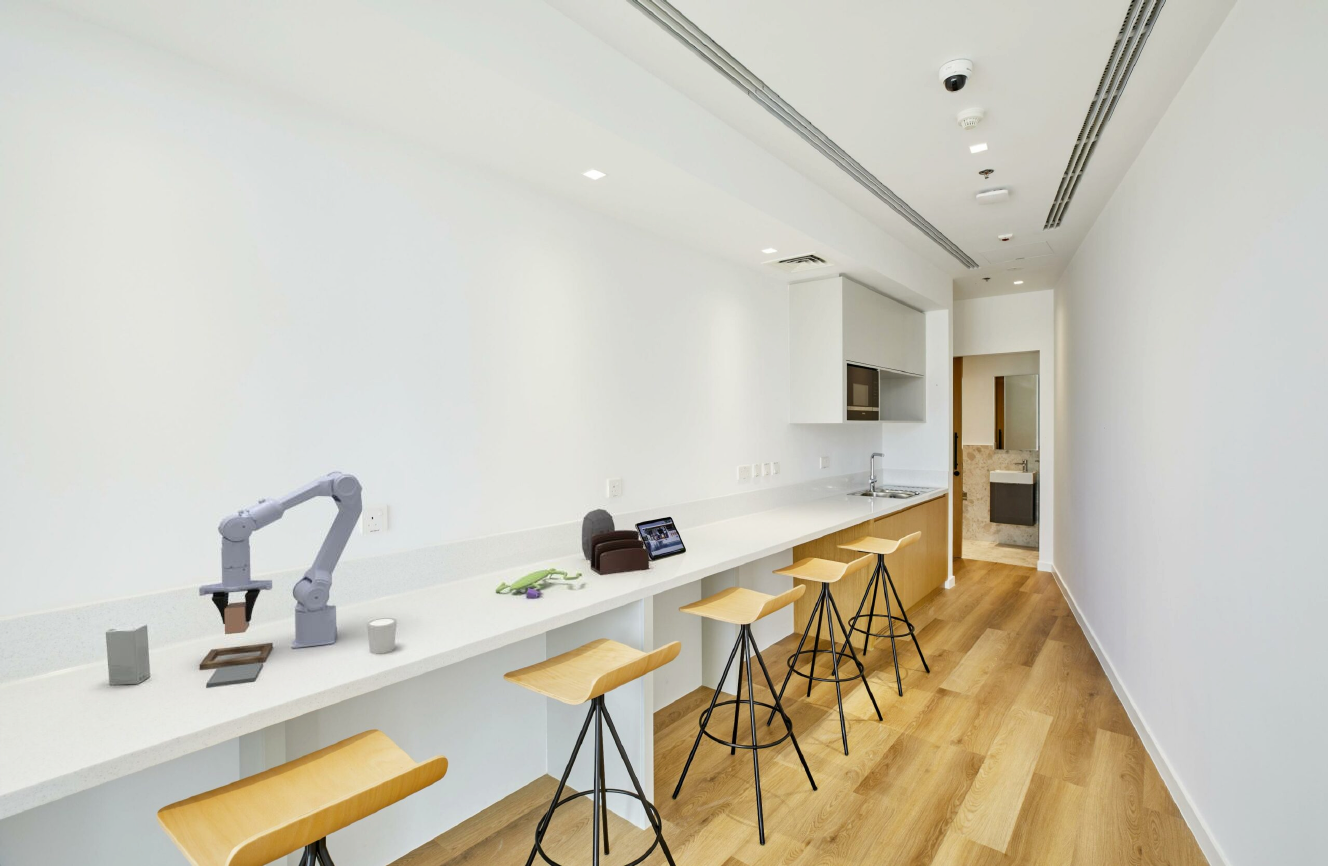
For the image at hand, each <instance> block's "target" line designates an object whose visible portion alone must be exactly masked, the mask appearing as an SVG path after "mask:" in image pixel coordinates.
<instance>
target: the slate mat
mask: <svg viewBox="0 0 1328 866" xmlns="http://www.w3.org/2000/svg"><path fill="white" fill-rule="evenodd" d="M263 667H264V662H261V663H253V664H245V665H236V666H228V667H220V668H215V669H216V670H215V671H214V672H213V673H212V674H211V677H209V679H208V681H207V682H206V686H205V687H206V688H212V687H221V686H228V685H229V686H230V685H236V684H243V683H252V682H255V681H256V680H257V678H258V676H259V675H258V674H260V672H261V671H262V669H263Z"/></svg>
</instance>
